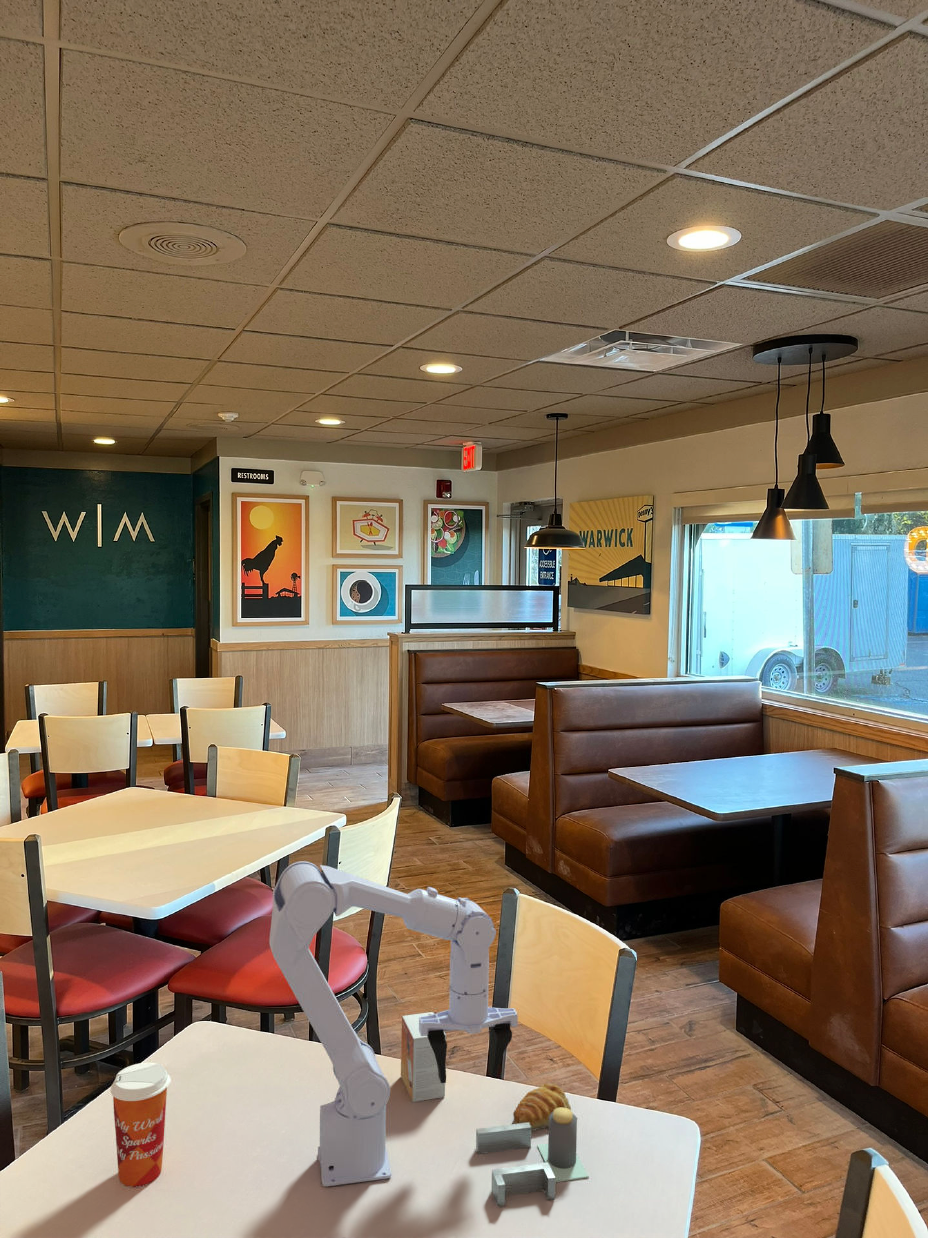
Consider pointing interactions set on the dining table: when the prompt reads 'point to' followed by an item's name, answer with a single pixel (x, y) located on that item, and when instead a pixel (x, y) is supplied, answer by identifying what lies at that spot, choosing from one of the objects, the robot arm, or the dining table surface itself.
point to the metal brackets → (519, 1176)
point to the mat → (564, 1174)
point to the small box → (419, 1062)
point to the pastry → (540, 1106)
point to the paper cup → (140, 1122)
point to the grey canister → (562, 1138)
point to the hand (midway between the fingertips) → (467, 1076)
